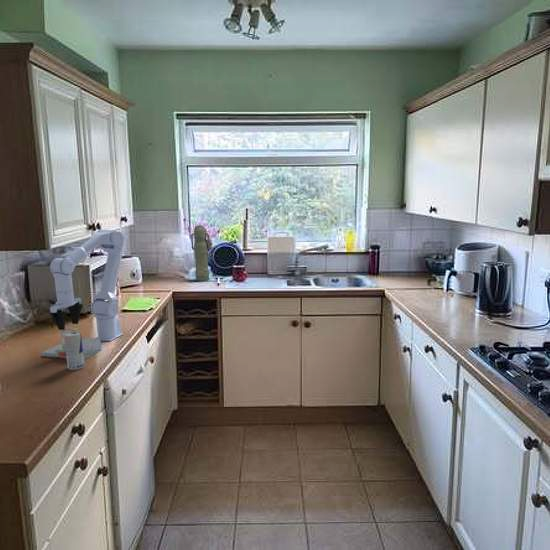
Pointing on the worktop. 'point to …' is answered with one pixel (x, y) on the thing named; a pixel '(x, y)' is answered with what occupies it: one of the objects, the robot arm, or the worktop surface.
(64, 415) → the worktop surface
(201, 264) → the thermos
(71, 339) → the energy drink
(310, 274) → the worktop surface
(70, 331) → the column block
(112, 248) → the robot arm
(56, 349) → the stepped stand
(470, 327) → the worktop surface
